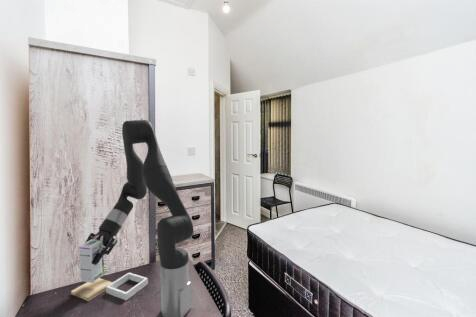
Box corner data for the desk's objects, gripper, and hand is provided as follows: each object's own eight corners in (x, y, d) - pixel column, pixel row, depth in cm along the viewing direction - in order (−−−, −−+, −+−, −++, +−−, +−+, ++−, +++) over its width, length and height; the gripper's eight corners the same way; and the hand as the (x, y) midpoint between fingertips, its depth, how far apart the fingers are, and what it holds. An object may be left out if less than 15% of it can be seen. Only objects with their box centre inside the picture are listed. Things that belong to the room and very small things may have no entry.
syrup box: (93, 283, 86) (91, 246, 84) (80, 281, 87) (78, 245, 86) (104, 274, 91) (103, 240, 90) (92, 272, 92) (90, 238, 91)
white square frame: (148, 283, 93) (147, 278, 93) (126, 300, 83) (126, 294, 83) (129, 277, 97) (128, 272, 97) (106, 293, 87) (106, 286, 87)
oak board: (113, 285, 92) (113, 282, 92) (88, 301, 83) (88, 298, 82) (96, 279, 96) (96, 276, 96) (71, 294, 86) (71, 291, 86)
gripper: (96, 215, 97) (67, 255, 87) (120, 220, 91) (93, 263, 81) (107, 223, 102) (82, 261, 92) (131, 228, 97) (107, 269, 87)
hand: (87, 262), depth 87 cm, fingers closed on syrup box, 6 cm apart
